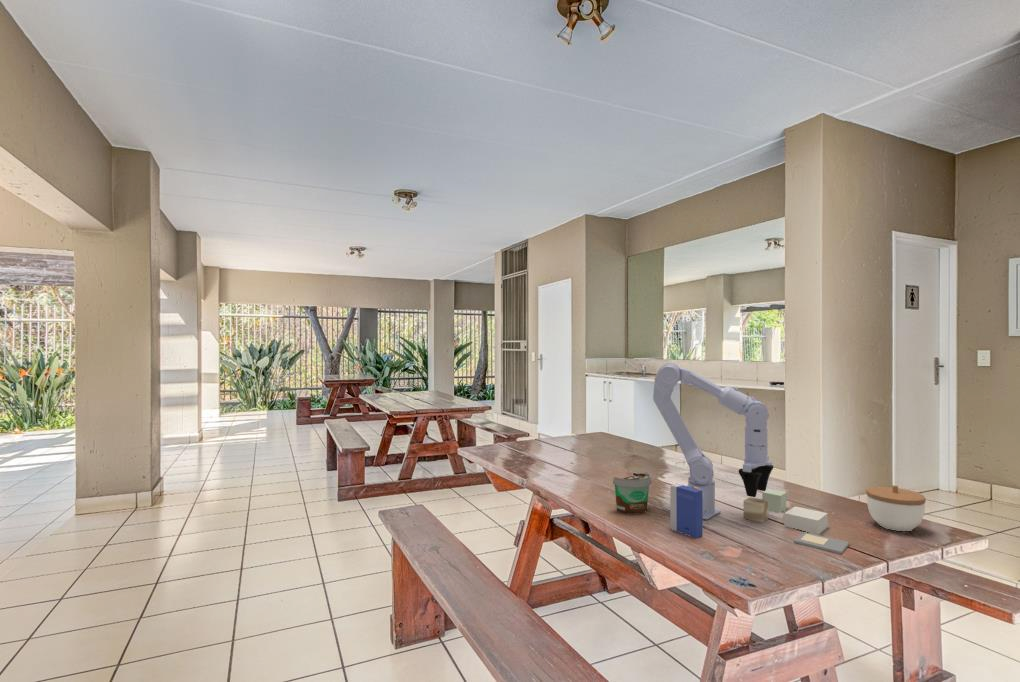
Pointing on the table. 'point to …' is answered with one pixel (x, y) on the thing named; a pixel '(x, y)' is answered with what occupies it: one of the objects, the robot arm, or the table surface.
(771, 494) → the sage cube
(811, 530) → the base block
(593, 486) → the table surface
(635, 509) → the food container
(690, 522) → the walkman
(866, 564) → the table surface
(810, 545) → the card
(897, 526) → the lidded bowl
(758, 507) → the birch cube
